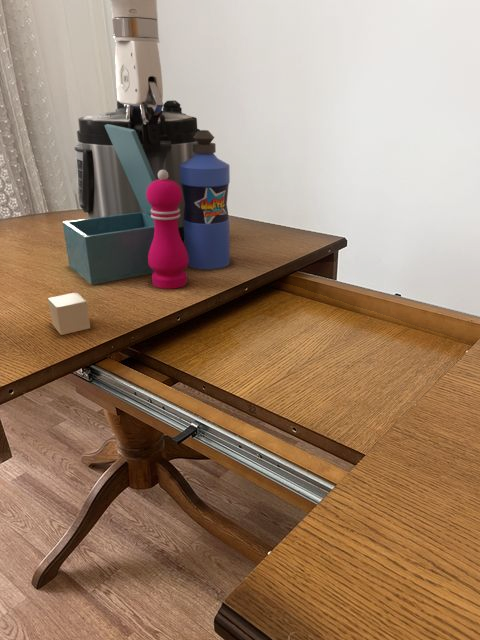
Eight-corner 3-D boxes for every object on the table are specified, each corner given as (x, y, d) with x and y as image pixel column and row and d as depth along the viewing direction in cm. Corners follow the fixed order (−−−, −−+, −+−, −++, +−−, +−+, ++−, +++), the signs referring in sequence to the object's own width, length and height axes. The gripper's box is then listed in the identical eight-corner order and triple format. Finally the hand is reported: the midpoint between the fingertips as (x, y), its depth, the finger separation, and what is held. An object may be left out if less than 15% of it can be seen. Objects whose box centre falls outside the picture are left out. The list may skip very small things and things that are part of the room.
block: (61, 335, 80) (56, 307, 78) (52, 324, 83) (47, 297, 81) (90, 328, 82) (86, 301, 80) (80, 318, 85) (76, 292, 83)
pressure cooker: (118, 213, 147) (104, 82, 132) (219, 220, 142) (217, 85, 127) (60, 244, 120) (34, 85, 106) (181, 254, 116) (172, 88, 101)
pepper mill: (195, 278, 102) (191, 167, 93) (180, 292, 96) (173, 174, 87) (160, 274, 104) (152, 165, 94) (142, 287, 97) (132, 171, 88)
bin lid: (131, 131, 92) (157, 118, 94) (104, 125, 101) (128, 113, 103) (169, 223, 102) (193, 210, 104) (141, 210, 111) (163, 198, 113)
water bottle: (237, 265, 109) (237, 132, 98) (194, 272, 105) (188, 134, 94) (219, 253, 117) (217, 127, 105) (178, 258, 113) (171, 128, 101)
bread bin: (91, 285, 98) (84, 237, 94) (69, 266, 107) (62, 221, 103) (174, 269, 107) (171, 224, 103) (147, 252, 116) (143, 211, 112)
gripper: (96, 33, 96) (108, 142, 105) (136, 29, 84) (145, 153, 92) (136, 35, 100) (144, 140, 109) (179, 31, 88) (185, 150, 96)
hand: (145, 145), depth 100 cm, fingers closed on bin lid, 5 cm apart
